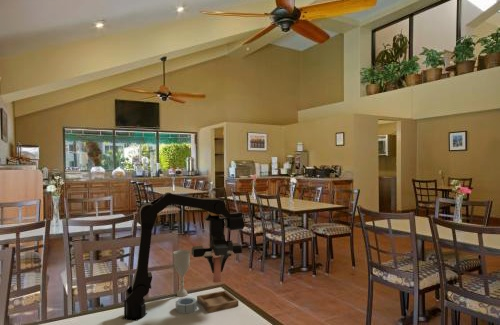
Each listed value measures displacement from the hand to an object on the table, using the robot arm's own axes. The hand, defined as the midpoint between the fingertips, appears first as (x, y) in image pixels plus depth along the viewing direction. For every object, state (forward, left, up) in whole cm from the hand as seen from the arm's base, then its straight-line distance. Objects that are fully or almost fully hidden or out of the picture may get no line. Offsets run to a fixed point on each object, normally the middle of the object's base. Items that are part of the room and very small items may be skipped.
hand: (217, 272), depth 129 cm
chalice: (-17, +4, -13) cm, 21 cm away
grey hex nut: (-9, -8, -12) cm, 17 cm away
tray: (0, 0, -12) cm, 12 cm away
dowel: (0, 0, -3) cm, 3 cm away
